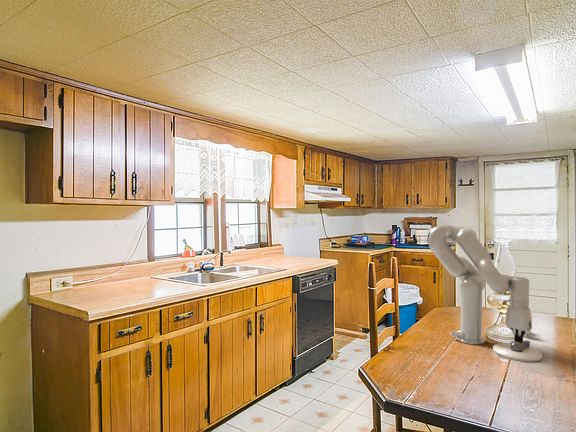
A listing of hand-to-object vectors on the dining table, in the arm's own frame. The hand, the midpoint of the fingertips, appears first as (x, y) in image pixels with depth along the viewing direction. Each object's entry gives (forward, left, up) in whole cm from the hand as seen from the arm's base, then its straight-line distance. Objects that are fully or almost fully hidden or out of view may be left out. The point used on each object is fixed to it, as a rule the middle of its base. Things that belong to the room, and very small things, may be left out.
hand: (518, 343), depth 183 cm
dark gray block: (-1, -4, -1) cm, 4 cm away
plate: (-3, -5, -3) cm, 7 cm away
